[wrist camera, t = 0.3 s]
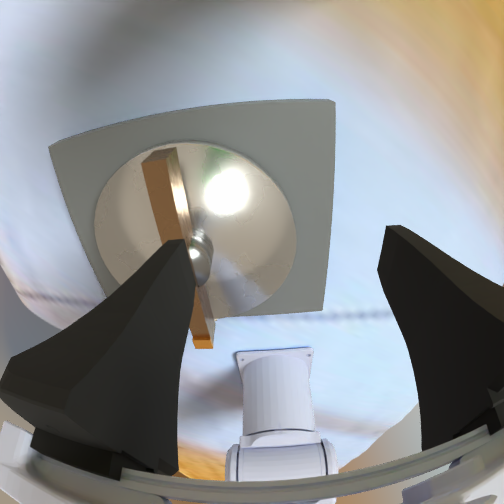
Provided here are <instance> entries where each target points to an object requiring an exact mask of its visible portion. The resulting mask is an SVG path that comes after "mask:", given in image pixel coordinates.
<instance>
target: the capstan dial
mask: <svg viewBox="0 0 504 504" xmlns="http://www.w3.org/2000/svg"><path fill="white" fill-rule="evenodd" d="M94 228H95V237H96V242H97V246H98V249H99V252H100V255H101V257H102V259H103V261H104V263H105V265H106V267H107V268H108V270H109V271H110V273H111V274H112V276H113V277H114V278H115V279H116V280H117V282H118V283H119V284H120V285H122V284H123V283H124V282H125V281H126V280H127V279H128V278H129V277H131V276H132V275H133V274H134V273H135V272H136V271H137V270H138V269H139V268H140V267H141V266H142V265H143V264H144V263H145V262H146V261H147V260H148V259H149V258H150V257H151V256H152V255H153V254H154V253H155V252H156V251H157V250H158V249H159V248H160V247H161V246H162V245H163V244H164V243H165V242H167V241H168V240H175V239H185V243H186V247H187V251H188V255H189V259H190V263H191V267H192V271H193V274H194V278H195V282H196V286H195V298H194V307H193V312H192V316H191V321H190V325H189V328H190V330H191V333H192V336H193V339H192V341H193V343H194V346H195V348H196V349H213V341H214V331H215V321H214V319H219V318H225V317H230V316H234V315H237V314H241V313H243V312H246V311H248V310H250V309H252V308H254V307H256V306H258V305H260V304H261V303H263V302H264V301H265V300H267V299H268V298H269V297H270V296H272V295H273V294H274V293H275V292H276V291H277V290H278V288H279V287H280V286H281V285H282V284H283V282H284V281H285V279H286V277H287V276H288V274H289V272H290V269H291V267H292V265H293V261H294V257H295V254H296V243H297V240H296V229H295V224H294V220H293V216H292V212H291V208H290V206H289V203H288V201H287V198H286V196H285V194H284V192H283V191H282V189H281V187H280V186H279V184H278V183H277V182H276V180H275V179H274V178H273V177H272V176H271V174H270V173H269V172H268V171H267V170H266V169H264V168H263V167H262V166H261V165H260V164H259V163H258V162H256V161H255V160H253V159H252V158H250V157H249V156H247V155H246V154H244V153H242V152H240V151H238V150H236V149H234V148H231V147H228V146H226V145H223V144H220V143H216V142H211V141H205V140H193V139H185V140H173V141H169V142H165V143H160V144H157V145H155V146H152V147H150V148H147V149H145V150H143V151H142V152H140V153H138V154H137V155H135V156H134V157H132V158H131V159H130V160H129V161H127V162H126V163H125V164H124V165H123V166H122V167H121V168H119V169H118V170H117V171H116V172H115V174H114V175H113V176H112V177H111V178H110V179H109V181H108V182H107V184H106V185H105V187H104V189H103V190H102V193H101V195H100V197H99V200H98V203H97V207H96V211H95V220H94Z"/></svg>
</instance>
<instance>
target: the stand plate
mask: <svg viewBox="0 0 504 504" xmlns="http://www.w3.org/2000/svg"><path fill="white" fill-rule="evenodd" d="M335 125H336V111H335V102H334V101H331V100H329V99H286V100H263V101H249V102H237V103H227V104H218V105H210V106H202V107H195V108H189V109H182V110H176V111H171V112H165V113H160V114H155V115H150V116H145V117H141V118H136V119H132V120H128V121H124V122H120V123H116V124H112V125H108V126H105V127H101V128H97V129H94V130H91V131H87V132H84V133H81V134H78V135H75V136H71V137H68V138H66V139H63V140H60V141H58V142H56V143H54V144H53V145H51V146H49V147H48V148H49V151H50V155H51V159H52V162H53V165H54V169H55V172H56V175H57V179H58V182H59V185H60V188H61V191H62V194H63V197H64V200H65V202H66V205H67V208H68V211H69V213H70V216H71V219H72V221H73V224H74V226H75V229H76V231H77V234H78V236H79V239H80V241H81V243H82V246H83V248H84V250H85V253H86V255H87V257H88V259H89V262H90V264H91V266H92V268H93V270H94V272H95V274H96V277H97V279H98V281H99V283H100V285H101V287H102V289H103V291H104V293H105V295H106V297H107V298H108V297H109V296H110V295H111V294H112V293H113V292H114V291H116V290H117V289H118V288H119V287H120V286H121V285H120V284H119V283H118V282H117V280H116V279H115V278H114V277H113V276H112V274H111V273H110V271H109V270H108V268H107V267H106V265H105V263H104V261H103V259H102V257H101V255H100V252H99V249H98V246H97V242H96V237H95V228H94V220H95V211H96V207H97V203H98V200H99V197H100V195H101V193H102V190H103V189H104V187H105V185H106V184H107V182H108V181H109V179H110V178H111V177H112V176H113V175H114V174H115V172H116V171H117V170H118V169H119V168H121V167H122V166H123V165H124V164H125V163H126V162H127V161H129V160H130V159H131V158H132V157H134V156H135V155H137V154H138V153H140V152H142V151H143V150H145V149H147V148H150V147H152V146H155V145H157V144H160V143H165V142H169V141H173V140H185V139H193V140H205V141H211V142H216V143H220V144H223V145H226V146H228V147H231V148H234V149H236V150H238V151H240V152H242V153H244V154H246V155H247V156H249V157H250V158H252V159H253V160H255V161H256V162H258V163H259V164H260V165H261V166H262V167H263V168H264V169H266V170H267V171H268V172H269V173H270V174H271V176H272V177H273V178H274V179H275V180H276V182H277V183H278V184H279V186H280V187H281V189H282V191H283V192H284V194H285V196H286V198H287V201H288V203H289V206H290V208H291V212H292V216H293V220H294V224H295V229H296V240H297V243H296V254H295V257H294V261H293V265H292V267H291V269H290V272H289V274H288V276H287V277H286V279H285V281H284V282H283V284H282V285H281V286H280V287H279V288H278V290H277V291H276V292H275V293H274V294H273V295H272V296H270V297H269V298H268V299H267V300H265V301H264V302H263V303H261V304H260V305H258V306H256V307H254V308H252V309H250V310H248V311H246V312H243V313H241V314H237V315H234V316H230V317H239V316H258V315H274V314H288V313H301V312H312V311H322V310H323V302H324V294H325V286H326V277H327V268H328V258H329V247H330V236H331V223H332V209H333V192H334V171H335ZM214 321H217V319H214Z"/></svg>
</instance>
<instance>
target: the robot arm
mask: <svg viewBox="0 0 504 504" xmlns="http://www.w3.org/2000/svg"><path fill="white" fill-rule="evenodd" d="M377 271H378V275H379V278H380V282H381V285H382V288H383V291H384V294H385V296H386V298H387V300H388V303H389V305H390V307H391V309H392V312H393V314H394V316H395V318H396V321H397V323H398V325H399V328H400V330H401V332H402V335H403V337H404V340H405V342H406V345H407V348H408V351H409V355H410V359H411V363H412V367H413V371H414V376H415V381H416V386H417V392H418V399H419V407H420V415H421V434H422V452H420V453H417V454H414V455H411V456H408V457H404V458H401V459H398V460H394V461H391V462H387V463H383V464H380V465H376V466H372V467H368V468H363V469H358V470H353V471H348V472H343V473H338V462H337V456H336V451H335V448H334V446H333V444H332V443H330V442H329V441H328V440H327V439H321V438H320V432H319V431H316V429H315V421H314V413H313V405H312V397H311V389H310V382H309V378H310V372H311V366H312V360H313V353H314V351H313V348H311V347H307V348H296V349H283V350H269V351H250V352H238V353H237V354H236V358H237V362H238V367H239V371H240V375H241V380H242V384H243V436H240V445H239V444H233V445H232V447H231V448H230V449H229V450H228V451H227V455H226V463H225V481H215V480H200V479H189V478H180V477H172V475H174V474H175V473H176V472H177V471H178V470H179V466H178V447H177V411H178V391H179V379H180V368H181V362H182V357H183V352H184V347H185V343H186V338H187V334H188V330H189V325H190V321H191V316H192V312H193V307H194V298H195V286H196V282H195V278H194V274H193V271H192V267H191V263H190V259H189V255H188V251H187V247H186V243H185V239H175V240H168V241H167V242H165V243H164V244H163V245H162V246H161V247H160V248H159V249H158V250H157V251H156V252H155V253H154V254H153V255H152V256H151V257H150V258H149V259H148V260H147V261H146V262H145V263H144V264H143V265H142V266H141V267H140V268H139V269H138V270H137V271H136V272H135V273H134V274H133V275H132V276H131V277H129V278H128V279H127V280H126V281H125V282H124V283H123V284H122V285H121V286H120V287H119V288H118V289H117V290H116V291H114V292H113V293H112V294H111V295H110V296H109V297H108V298H106V299H105V300H104V301H103V302H101V303H100V304H99V305H98V306H96V307H95V308H94V309H93V310H91V311H90V312H89V313H87V314H86V315H84V316H83V317H81V318H80V319H79V320H77V321H76V322H74V323H73V324H71V325H70V326H69V327H67V328H66V329H64V330H62V331H61V332H60V333H58V334H56V335H54V336H53V337H51V338H49V339H47V340H46V341H44V342H42V343H40V344H38V345H36V346H35V347H32V348H30V349H28V350H26V351H24V352H22V353H20V354H18V355H16V356H13V357H11V359H10V361H9V363H8V365H7V367H6V369H5V371H4V374H3V376H2V378H1V380H0V398H1V399H2V401H3V402H4V403H6V404H7V405H8V406H9V407H10V408H11V409H12V410H13V411H15V412H16V413H17V414H19V415H20V416H21V417H23V418H24V419H25V420H26V421H28V422H29V423H30V424H32V425H33V426H34V427H35V431H34V434H32V433H30V432H29V431H27V430H25V429H23V428H21V427H19V426H16V425H14V424H12V423H10V422H8V421H4V423H3V426H2V430H1V433H0V489H1V490H3V491H4V492H5V493H7V494H8V495H9V496H11V497H12V498H13V499H15V500H16V501H18V502H19V503H20V504H172V503H171V501H169V500H168V499H174V500H181V501H189V502H198V503H210V504H335V503H336V497H341V496H347V495H352V494H356V493H361V492H365V491H369V490H373V489H377V488H381V487H385V486H388V485H392V484H395V483H398V482H401V481H404V480H407V479H410V478H413V477H416V476H419V475H422V474H424V473H427V472H430V471H432V470H435V469H437V468H439V467H442V466H444V465H446V464H449V463H451V462H452V463H451V465H450V466H449V469H448V470H447V471H445V472H443V473H440V474H438V475H436V476H434V477H431V478H429V479H427V480H425V481H423V482H420V483H418V484H416V485H413V486H411V487H408V488H405V489H403V491H402V496H403V503H401V504H504V287H502V286H500V285H498V284H496V283H494V282H492V281H490V280H488V279H487V278H485V277H483V276H481V275H480V274H478V273H476V272H474V271H473V270H471V269H469V268H468V267H466V266H464V265H463V264H461V263H460V262H458V261H457V260H455V259H453V258H452V257H450V256H449V255H447V254H446V253H444V252H443V251H441V250H440V249H438V248H437V247H435V246H434V245H433V244H431V243H430V242H428V241H427V240H425V239H423V238H422V237H420V236H419V235H417V234H416V233H414V232H412V231H411V230H409V229H407V228H405V227H403V226H401V225H391V226H386V229H385V235H384V240H383V245H382V250H381V255H380V259H379V264H378V268H377ZM166 498H167V499H166Z"/></svg>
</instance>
